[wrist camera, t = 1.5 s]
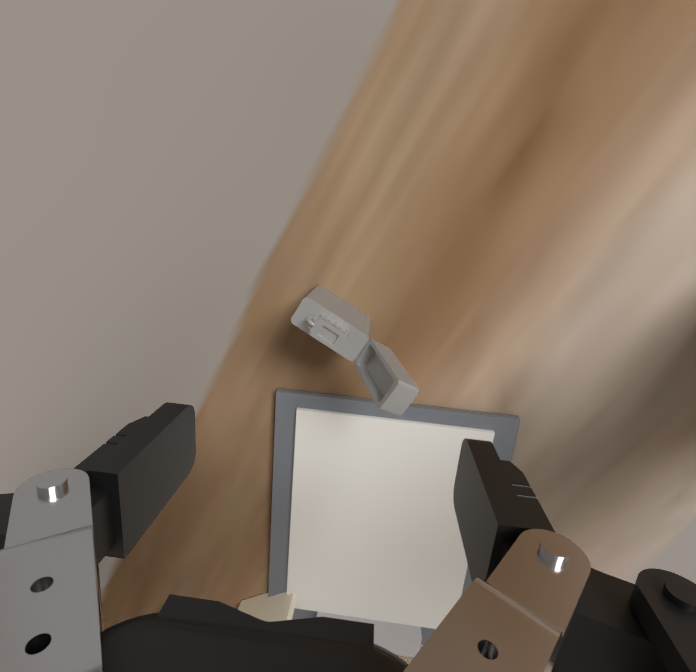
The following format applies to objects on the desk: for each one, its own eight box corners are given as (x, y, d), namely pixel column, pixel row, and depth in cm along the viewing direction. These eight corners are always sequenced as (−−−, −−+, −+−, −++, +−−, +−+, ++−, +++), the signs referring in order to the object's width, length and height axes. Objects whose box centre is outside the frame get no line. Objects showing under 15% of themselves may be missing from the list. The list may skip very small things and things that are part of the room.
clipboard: (517, 415, 27) (526, 428, 26) (467, 644, 33) (471, 666, 31) (278, 388, 28) (271, 398, 27) (269, 614, 34) (263, 634, 32)
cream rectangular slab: (295, 584, 33) (284, 626, 29) (298, 589, 33) (288, 633, 30) (241, 600, 34) (224, 644, 30) (244, 606, 34) (228, 650, 31)
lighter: (304, 305, 27) (270, 341, 19) (318, 282, 26) (289, 310, 18) (396, 365, 27) (399, 423, 20) (411, 344, 27) (421, 395, 19)
